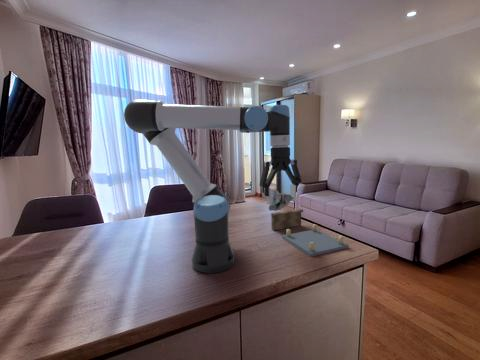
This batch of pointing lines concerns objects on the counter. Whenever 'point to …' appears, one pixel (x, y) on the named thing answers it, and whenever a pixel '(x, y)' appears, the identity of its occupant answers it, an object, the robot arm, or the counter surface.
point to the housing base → (314, 241)
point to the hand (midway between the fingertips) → (281, 202)
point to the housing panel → (286, 219)
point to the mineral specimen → (280, 201)
